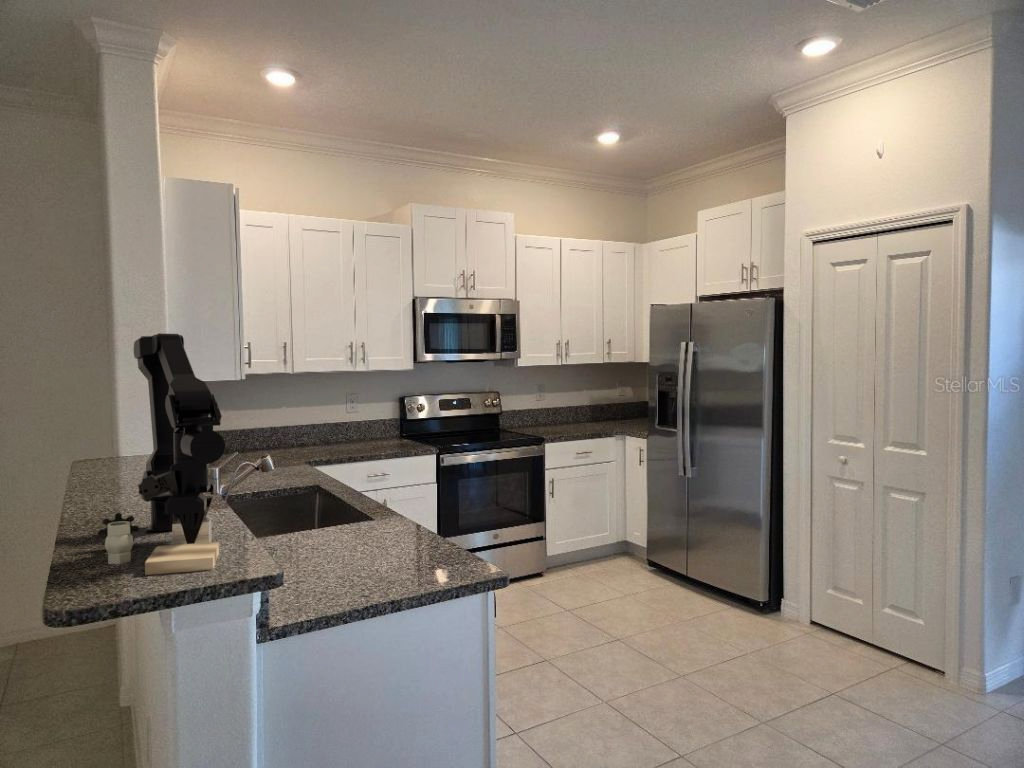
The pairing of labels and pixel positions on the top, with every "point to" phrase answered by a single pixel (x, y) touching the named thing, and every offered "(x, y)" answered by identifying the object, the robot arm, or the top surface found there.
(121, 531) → the valve
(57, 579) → the top surface
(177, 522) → the aluminium block
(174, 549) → the oak plate
